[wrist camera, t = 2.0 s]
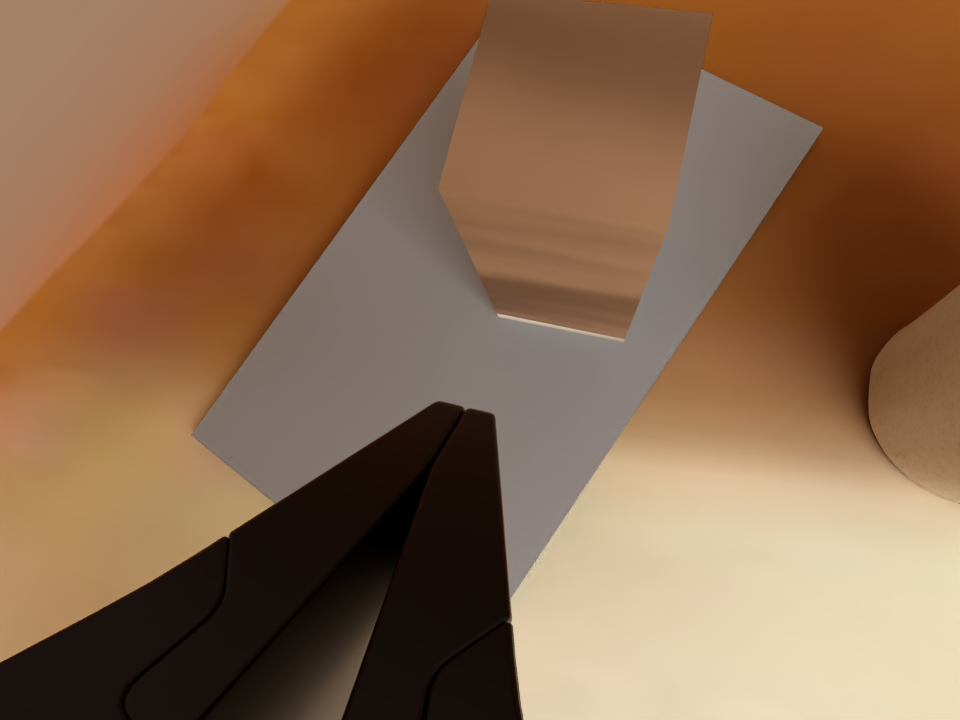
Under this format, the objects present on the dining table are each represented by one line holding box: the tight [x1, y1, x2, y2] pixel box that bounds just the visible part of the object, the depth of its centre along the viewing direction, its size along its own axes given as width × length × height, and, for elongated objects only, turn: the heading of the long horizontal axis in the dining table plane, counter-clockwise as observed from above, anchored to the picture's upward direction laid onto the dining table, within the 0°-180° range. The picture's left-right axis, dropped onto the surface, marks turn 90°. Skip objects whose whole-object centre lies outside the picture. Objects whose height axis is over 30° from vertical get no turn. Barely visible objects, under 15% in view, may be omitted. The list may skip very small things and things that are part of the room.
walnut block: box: [438, 0, 713, 343], centre depth 17 cm, size 4×4×10 cm
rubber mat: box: [191, 39, 823, 598], centre depth 22 cm, size 22×13×1 cm, turn 145°
